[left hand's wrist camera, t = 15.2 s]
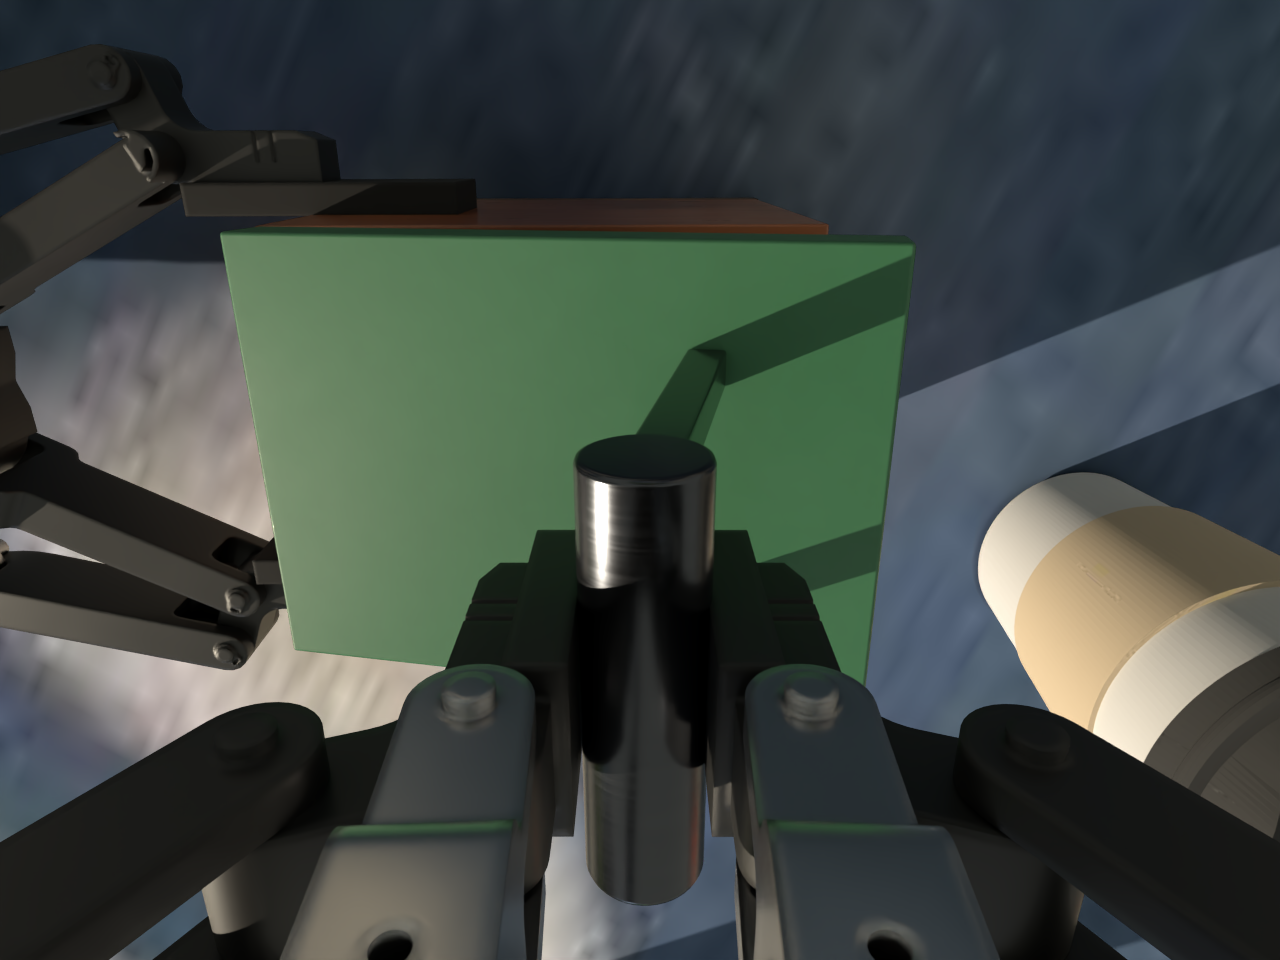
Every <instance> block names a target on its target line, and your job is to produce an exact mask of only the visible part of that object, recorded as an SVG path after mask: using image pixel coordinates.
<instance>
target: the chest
mask: <svg viewBox="0 0 1280 960" xmlns="http://www.w3.org/2000/svg"><path fill="white" fill-rule="evenodd" d="M259 226H270V227H339V228H408V229H477V230H546V231H615V232H684V233H753V234H822V235H828V230H829V226H828V224H826V223H823V222H820V221H817V220H814V219H811V218H808V217H805V216H803V215H800V214H797V213H794V212H791V211H788V210H785V209H782V208H780V207H777V206H774V205H771V204H768V203H765V202H762V201H759V200H758V199H756V198H484V199H477V208H475V209H472V210H470V211H467V212H464V213H461V214H458V215H310V216H305V217H299V218H294V219H289V220H284V221H279V222H274V223H268V224H263V225H258V226H256V227H259Z"/></svg>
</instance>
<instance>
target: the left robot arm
mask: <svg viewBox="0 0 1280 960" xmlns="http://www.w3.org/2000/svg"><path fill="white" fill-rule="evenodd" d="M581 753H582V724H581V694H580V665H579V635H578V605H577V575H576V545H575V530H537V532H536V535H535V539H534V543H533V546H532V550H531V554H530V557H529V561H528V563H499V564H498V565H497V566H495V567H494V568H493V569H492V570H490V571H489V572H488V573H487V574H486V575H484V576H483V577H482V578H481V579H479V581H478V584H477V587H476V589H475V592H474V595H473V597H472V602H471V604H470V605H469V608H468V610H467V613H466V616H465V621H463V624H462V626H461V629H460V631H459V634H458V637H457V639H456V642H455V645H454V647H453V650H452V653H451V655H450V658H449V660H448V663H447V666H446V668H445V670H443V671H441V672H438V673H436V674H434V675H432V676H430V677H428V678H426V679H425V680H423V681H422V682H420V683H419V684H418V685H417V686H416V687H414V688H413V689H412V691H411V692H410V693H409V694H408V696H407V697H406V700H405V702H404V704H403V707H402V710H401V713H400V715H399V718H398V720H396V721H394V722H391V723H388V724H386V725H383V726H379V727H375V728H371V729H367V730H363V731H358V732H353V733H348V734H344V735H339V736H334V737H329V738H325V737H324V731H323V725H322V722H321V720H320V718H319V717H318V715H317V714H316V713H315V712H313V711H312V710H310V709H308V708H306V707H304V706H301V705H298V704H292V703H284V702H270V703H260V704H254V705H249V706H245V707H241V708H238V709H235V710H232V711H229V712H226V713H224V714H221V715H219V716H217V717H215V718H213V719H211V720H209V721H207V722H205V723H204V724H202V725H200V726H199V727H197V728H195V729H193V730H192V731H190V732H188V733H187V734H185V735H183V736H181V737H180V738H178V739H176V740H175V741H173V742H171V743H169V744H168V745H166V746H164V747H163V748H161V749H159V750H157V751H156V752H154V753H152V754H151V755H149V756H147V757H145V758H144V759H142V760H140V761H139V762H137V763H135V764H133V765H132V766H130V767H128V768H127V769H125V770H123V771H122V772H120V773H118V774H116V775H115V776H113V777H111V778H110V779H108V780H106V781H104V782H103V783H101V784H99V785H98V786H96V787H94V788H92V789H91V790H89V791H87V792H86V793H84V794H82V795H80V796H79V797H77V798H75V799H74V800H72V801H70V802H68V803H67V804H65V805H63V806H62V807H60V808H58V809H56V810H55V811H53V812H51V813H50V814H48V815H46V816H45V817H43V818H41V819H39V820H38V821H36V822H34V823H33V824H31V825H29V826H27V827H26V828H24V829H22V830H21V831H19V832H17V833H15V834H14V835H12V836H10V837H9V838H7V839H5V840H3V841H2V842H0V960H109V959H110V958H112V957H113V956H114V955H116V954H117V953H118V952H120V951H121V950H122V949H124V948H125V947H126V946H128V945H129V944H130V943H131V942H133V941H134V940H135V939H137V938H138V937H139V936H141V935H142V934H143V933H145V932H146V931H147V930H149V929H150V928H151V927H153V926H154V925H155V924H157V923H158V922H159V921H161V920H162V919H163V918H165V917H166V916H167V915H169V914H170V913H171V912H173V911H174V910H175V909H177V908H178V907H179V906H181V905H182V904H183V903H185V902H186V901H187V900H188V899H190V898H191V897H192V896H194V895H195V894H196V893H198V892H199V891H200V890H202V892H203V896H204V900H205V904H206V908H207V912H208V917H206V918H205V919H204V920H203V921H201V922H200V923H199V924H197V925H196V926H195V927H194V928H192V929H191V930H190V931H189V932H187V933H186V934H185V935H183V936H182V937H181V938H180V939H178V940H177V941H176V942H175V943H173V944H172V945H171V946H169V947H168V948H167V949H166V950H164V951H163V952H162V953H161V954H159V955H158V956H157V957H155V958H154V959H153V960H541V958H542V942H543V927H544V911H545V895H546V891H545V871H546V869H547V866H548V862H549V857H550V849H551V841H552V837H561V836H574V826H575V815H576V805H577V795H578V784H579V774H580V763H581ZM704 765H705V774H706V784H707V793H708V803H709V813H710V822H711V832H712V837H734V843H735V850H736V872H735V892H734V895H735V911H736V926H737V942H738V957H739V960H1127V959H1126V958H1125V957H1123V956H1122V955H1121V954H1119V953H1118V952H1117V951H1116V950H1114V949H1113V948H1112V947H1111V946H1109V945H1108V944H1107V943H1105V942H1104V941H1103V940H1102V939H1100V938H1099V937H1098V936H1097V935H1095V934H1094V933H1093V932H1091V931H1090V930H1089V929H1088V928H1086V927H1085V926H1084V925H1083V924H1081V923H1080V922H1079V921H1078V916H1079V912H1080V909H1081V905H1082V901H1083V897H1084V894H1085V895H1086V896H1088V897H1089V898H1090V899H1092V900H1093V901H1094V902H1096V903H1097V904H1098V905H1099V906H1101V907H1102V908H1103V909H1105V910H1106V911H1107V912H1109V913H1110V914H1111V915H1113V916H1114V917H1115V918H1117V919H1118V920H1119V921H1121V922H1122V923H1123V924H1125V925H1126V926H1127V927H1129V928H1130V929H1131V930H1133V931H1134V932H1135V933H1137V934H1138V935H1139V936H1141V937H1142V938H1143V939H1145V940H1146V941H1147V942H1149V943H1150V944H1151V945H1153V946H1154V947H1155V948H1157V949H1158V950H1159V951H1160V952H1162V953H1163V954H1164V955H1166V956H1167V957H1168V958H1170V959H1171V960H1280V842H1278V841H1277V840H1275V839H1273V838H1271V837H1270V836H1268V835H1266V834H1265V833H1263V832H1261V831H1259V830H1258V829H1256V828H1254V827H1253V826H1251V825H1249V824H1248V823H1246V822H1244V821H1242V820H1241V819H1239V818H1237V817H1236V816H1234V815H1232V814H1230V813H1229V812H1227V811H1225V810H1224V809H1222V808H1220V807H1218V806H1217V805H1215V804H1213V803H1212V802H1210V801H1208V800H1206V799H1205V798H1203V797H1201V796H1200V795H1198V794H1196V793H1194V792H1193V791H1191V790H1189V789H1188V788H1186V787H1184V786H1182V785H1181V784H1179V783H1177V782H1176V781H1174V780H1172V779H1170V778H1169V777H1167V776H1165V775H1164V774H1162V773H1160V772H1159V771H1157V770H1155V769H1153V768H1152V767H1150V766H1148V765H1147V764H1145V763H1143V762H1141V761H1140V760H1138V759H1136V758H1135V757H1133V756H1131V755H1129V754H1128V753H1126V752H1124V751H1123V750H1121V749H1119V748H1117V747H1116V746H1114V745H1112V744H1111V743H1109V742H1107V741H1105V740H1104V739H1102V738H1100V737H1099V736H1097V735H1095V734H1093V733H1092V732H1090V731H1088V730H1087V729H1085V728H1083V727H1081V726H1080V725H1078V724H1076V723H1074V722H1072V721H1070V720H1069V719H1067V718H1064V717H1062V716H1060V715H1057V714H1055V713H1052V712H1049V711H1046V710H1043V709H1039V708H1034V707H1030V706H1023V705H1015V704H998V705H990V706H985V707H982V708H979V709H977V710H975V711H973V712H971V713H970V714H968V715H967V717H966V718H965V719H964V720H963V722H962V724H961V727H960V733H959V738H956V737H951V736H947V735H942V734H937V733H932V732H927V731H923V730H918V729H914V728H910V727H906V726H903V725H900V724H897V723H894V722H892V721H890V720H887V719H885V718H883V717H881V715H880V713H879V710H878V707H877V704H876V702H875V699H874V697H873V696H872V694H871V693H870V692H869V690H868V689H867V688H866V687H864V686H863V685H862V684H861V683H860V682H858V681H857V680H855V679H854V678H852V677H850V676H848V675H846V674H844V673H842V672H841V670H840V667H839V664H838V662H837V659H836V657H835V654H834V652H833V649H832V647H831V644H830V641H829V639H828V636H827V634H826V631H825V629H824V626H823V623H822V621H820V616H819V613H818V611H817V608H816V605H815V604H813V598H812V595H811V593H810V590H809V588H808V585H807V582H806V580H805V579H804V578H803V577H801V576H800V575H799V574H798V573H796V572H795V571H794V570H793V569H791V568H790V567H789V566H788V565H786V564H785V563H757V562H756V558H755V555H754V551H753V548H752V544H751V541H750V537H749V534H748V531H747V530H715V538H714V567H713V597H712V603H711V606H710V613H709V642H708V671H707V700H706V729H705V758H704Z"/></svg>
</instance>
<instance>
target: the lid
mask: <svg viewBox="0 0 1280 960" xmlns="http://www.w3.org/2000/svg"><path fill="white" fill-rule="evenodd" d="M220 237H221V243H222V248H223V254H224V259H225V265H226V271H227V276H228V282H229V287H230V293H231V299H232V304H233V310H234V315H235V321H236V326H237V332H238V338H239V343H240V349H241V354H242V360H243V366H244V371H245V377H246V382H247V388H248V393H249V399H250V405H251V410H252V416H253V421H254V427H255V433H256V438H257V444H258V449H259V455H260V460H261V466H262V472H263V477H264V483H265V488H266V494H267V500H268V505H269V511H270V516H271V522H272V527H273V533H274V539H275V544H276V550H277V555H278V561H279V567H280V572H281V578H282V583H283V589H284V594H285V600H286V606H287V611H288V617H289V622H290V628H291V634H292V639H293V645H294V649H295V650H300V651H309V652H317V653H326V654H335V655H344V656H353V657H362V658H371V659H380V660H389V661H398V662H407V663H416V664H425V665H434V666H442V667H446V666H447V663H448V660H449V658H450V655H451V653H452V650H453V647H454V645H455V642H456V639H457V637H458V634H459V631H460V629H461V626H462V624H463V621H465V616H466V613H467V610H468V608H469V605H470V604H471V602H472V597H473V595H474V592H475V589H476V587H477V584H478V581H479V579H481V578H482V577H483V576H484V575H486V574H487V573H488V572H489V571H490V570H492V569H493V568H494V567H495V566H497V565H498V564H499V563H528V561H529V557H530V554H531V550H532V546H533V543H534V539H535V535H536V532H537V530H575V545H576V575H577V605H578V635H579V665H580V694H581V724H582V754H583V784H584V814H585V844H586V863H587V867H588V871H589V873H590V875H591V877H592V878H593V880H594V881H595V883H596V884H597V885H598V887H599V888H600V889H601V890H602V891H604V892H605V893H606V894H607V895H609V896H611V897H612V898H614V899H616V900H618V901H621V902H624V903H628V904H632V905H640V906H650V905H658V904H662V903H666V902H669V901H672V900H674V899H676V898H678V897H679V896H681V895H682V894H684V893H685V892H686V891H687V890H689V889H690V888H691V886H692V885H693V884H694V883H695V881H696V880H697V878H698V877H699V875H700V872H701V870H702V866H703V860H704V832H705V803H706V774H705V765H704V758H705V729H706V700H707V671H708V642H709V613H710V606H711V603H712V597H713V567H714V538H715V530H747V531H748V534H749V537H750V541H751V544H752V548H753V551H754V555H755V558H756V562H757V563H785V564H786V565H788V566H789V567H790V568H791V569H793V570H794V571H795V572H796V573H798V574H799V575H800V576H801V577H803V578H804V579H805V580H806V582H807V585H808V588H809V590H810V593H811V595H812V598H813V604H815V605H816V608H817V611H818V613H819V616H820V621H822V623H823V626H824V629H825V631H826V634H827V636H828V639H829V641H830V644H831V647H832V649H833V652H834V654H835V657H836V659H837V662H838V664H839V667H840V670H841V672H842V673H844V674H846V675H848V676H850V677H852V678H854V679H855V680H857V681H858V682H860V683H861V684H862V685H863V686H864V687H865V686H866V677H867V669H868V660H869V651H870V643H871V634H872V625H873V617H874V608H875V599H876V591H877V582H878V573H879V565H880V556H881V547H882V539H883V530H884V521H885V513H886V504H887V495H888V487H889V478H890V469H891V461H892V452H893V443H894V434H895V426H896V417H897V408H898V400H899V391H900V382H901V374H902V365H903V356H904V348H905V339H906V330H907V322H908V313H909V304H910V296H911V287H912V278H913V270H914V261H915V252H916V245H915V243H914V242H913V241H912V240H910V239H909V238H908V237H906V236H891V235H822V234H753V233H684V232H615V231H546V230H477V229H408V228H339V227H270V226H259V227H252V228H244V229H236V230H229V231H223V232H221V234H220Z"/></svg>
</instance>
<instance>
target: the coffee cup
mask: <svg viewBox="0 0 1280 960" xmlns="http://www.w3.org/2000/svg"><path fill="white" fill-rule="evenodd" d="M978 575H979V582H980V586H981V589H982V592H983V595H984V597H985V599H986V601H987V602H988V604H989V606H990V607H991V609H992V610H993V612H994V614H995V615H996V617H997V619H998V620H999V622H1000V623H1001V625H1002V627H1003V628H1004V630H1005V631H1006V633H1007V635H1008V636H1009V638H1010V639H1011V641H1012V643H1013V644H1014V646H1015V648H1016V649H1017V652H1018V655H1019V658H1020V660H1021V662H1022V664H1023V666H1024V668H1025V670H1026V672H1027V673H1028V675H1029V677H1030V678H1031V680H1032V682H1033V683H1034V685H1035V687H1036V688H1037V690H1038V692H1039V693H1040V695H1041V697H1042V698H1043V700H1044V702H1045V703H1046V705H1047V707H1048V708H1049V710H1050V712H1052V713H1055V714H1057V715H1060V716H1062V717H1064V718H1067V719H1069V720H1070V721H1072V722H1074V723H1076V724H1078V725H1080V726H1081V727H1083V728H1085V729H1087V730H1088V731H1090V732H1092V733H1093V734H1095V735H1097V736H1099V737H1100V738H1102V739H1104V740H1105V741H1107V742H1109V743H1111V744H1112V745H1114V746H1116V747H1117V748H1119V749H1121V750H1123V751H1124V752H1126V753H1128V754H1129V755H1131V756H1133V757H1135V758H1136V759H1138V760H1140V761H1141V762H1143V763H1145V764H1147V765H1148V766H1150V767H1152V768H1153V769H1155V770H1157V771H1159V772H1160V773H1162V774H1164V775H1165V776H1167V777H1169V778H1170V779H1172V780H1174V781H1176V782H1177V783H1179V784H1181V785H1182V786H1184V787H1186V788H1188V789H1189V790H1191V791H1193V792H1194V793H1196V794H1198V795H1200V796H1201V797H1203V798H1205V799H1206V800H1208V801H1210V802H1212V803H1213V804H1215V805H1217V806H1218V807H1220V808H1222V809H1224V810H1225V811H1227V812H1229V813H1230V814H1232V815H1234V816H1236V817H1237V818H1239V819H1241V820H1242V821H1244V822H1246V823H1248V824H1249V825H1251V826H1253V827H1254V828H1256V829H1258V830H1259V831H1261V832H1263V833H1265V834H1266V835H1268V836H1270V837H1271V838H1273V839H1275V840H1277V841H1278V842H1280V556H1279V555H1277V554H1275V553H1273V552H1271V551H1269V550H1267V549H1265V548H1263V547H1261V546H1259V545H1257V544H1255V543H1253V542H1251V541H1249V540H1247V539H1245V538H1243V537H1241V536H1239V535H1237V534H1235V533H1233V532H1231V531H1229V530H1227V529H1225V528H1223V527H1221V526H1219V525H1217V524H1215V523H1213V522H1211V521H1209V520H1207V519H1205V518H1203V517H1201V516H1199V515H1197V514H1195V513H1192V512H1189V511H1186V510H1183V509H1179V508H1173V507H1170V506H1169V505H1167V504H1165V503H1163V502H1161V501H1159V500H1157V499H1155V498H1153V497H1151V496H1149V495H1147V494H1145V493H1143V492H1141V491H1139V490H1137V489H1135V488H1133V487H1132V486H1130V485H1128V484H1126V483H1124V482H1122V481H1120V480H1118V479H1115V478H1113V477H1110V476H1107V475H1103V474H1097V473H1084V472H1081V473H1070V474H1064V475H1059V476H1056V477H1052V478H1050V479H1047V480H1044V481H1042V482H1040V483H1038V484H1036V485H1034V486H1032V487H1030V488H1028V489H1027V490H1025V491H1024V492H1022V493H1021V494H1020V495H1018V496H1017V497H1016V498H1014V499H1013V500H1012V501H1011V502H1010V503H1009V504H1008V505H1007V506H1006V507H1005V508H1004V509H1003V510H1002V511H1001V512H1000V514H999V515H998V516H997V517H996V519H995V520H994V522H993V523H992V525H991V526H990V528H989V530H988V532H987V534H986V536H985V538H984V541H983V544H982V547H981V551H980V555H979V562H978Z"/></svg>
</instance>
